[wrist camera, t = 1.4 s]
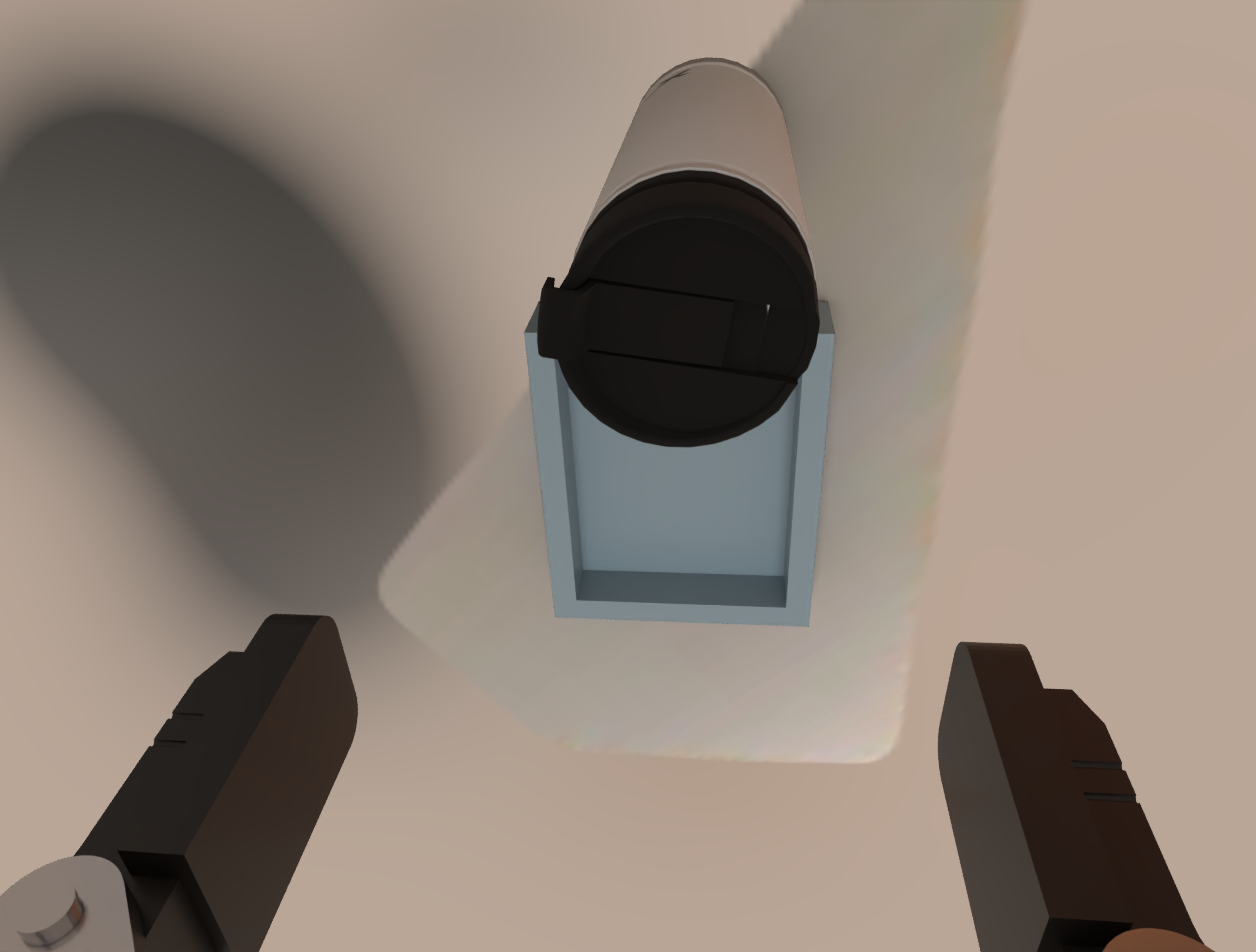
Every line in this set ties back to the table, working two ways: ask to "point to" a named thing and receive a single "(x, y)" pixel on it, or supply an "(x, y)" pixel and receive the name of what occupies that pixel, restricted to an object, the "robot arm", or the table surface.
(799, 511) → the slate tray
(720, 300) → the travel mug
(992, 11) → the table surface
